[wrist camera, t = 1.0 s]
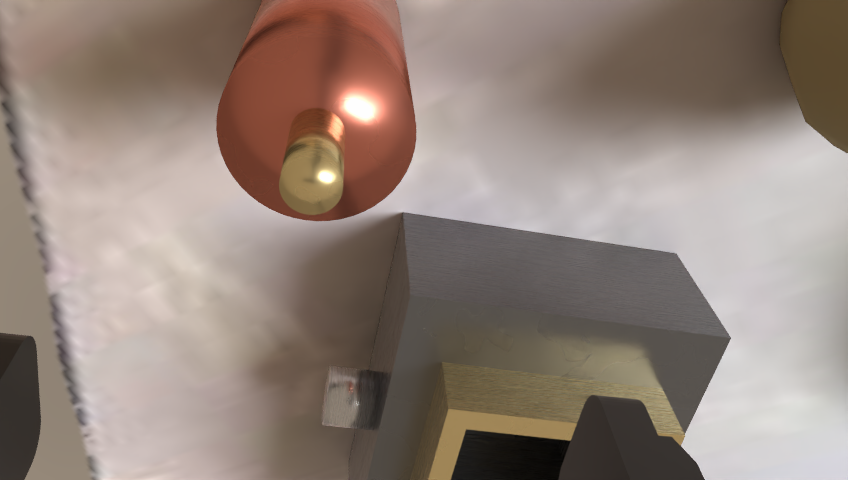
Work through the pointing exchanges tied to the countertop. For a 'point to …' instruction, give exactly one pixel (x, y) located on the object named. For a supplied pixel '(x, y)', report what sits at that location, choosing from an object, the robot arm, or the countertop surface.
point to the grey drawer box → (517, 351)
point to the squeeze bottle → (819, 63)
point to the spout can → (319, 108)
